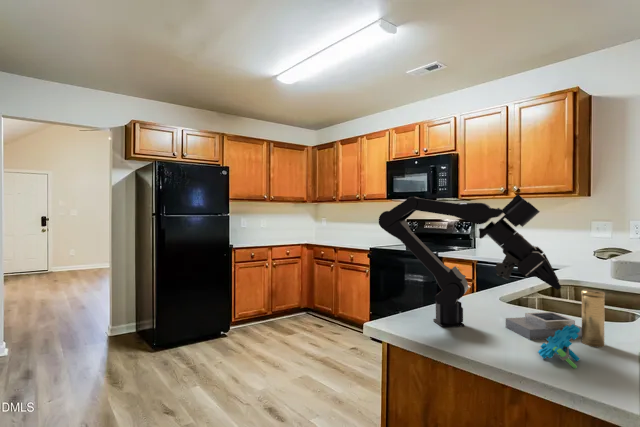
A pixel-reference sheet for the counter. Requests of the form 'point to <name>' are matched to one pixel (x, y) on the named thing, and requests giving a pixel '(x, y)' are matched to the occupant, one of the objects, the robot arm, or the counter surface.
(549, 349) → the blue green toy
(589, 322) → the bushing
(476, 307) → the counter surface
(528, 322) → the jig
